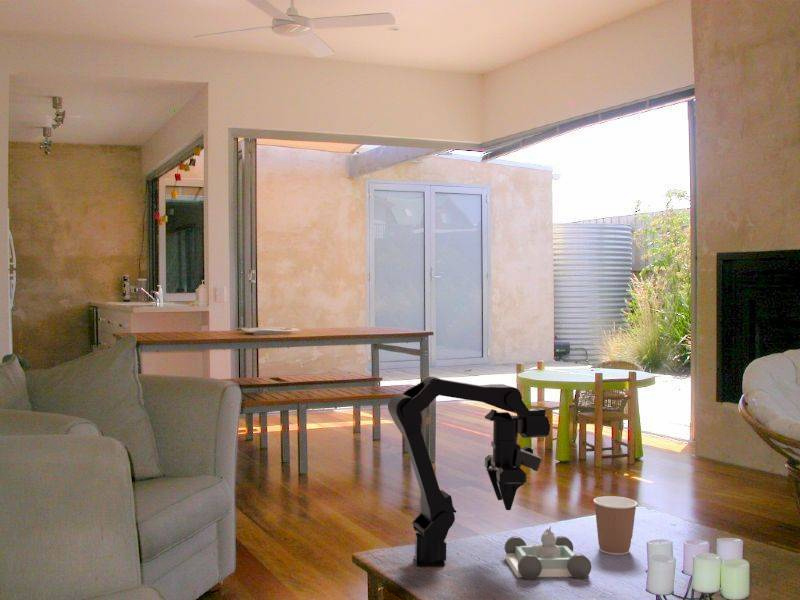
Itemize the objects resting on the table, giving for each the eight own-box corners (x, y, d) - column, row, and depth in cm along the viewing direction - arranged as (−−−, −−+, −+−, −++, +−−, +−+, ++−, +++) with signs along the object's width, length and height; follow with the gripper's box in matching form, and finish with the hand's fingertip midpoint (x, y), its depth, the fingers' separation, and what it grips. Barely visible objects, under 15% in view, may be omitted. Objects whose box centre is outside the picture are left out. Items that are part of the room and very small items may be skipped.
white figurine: (564, 564, 191) (565, 528, 191) (537, 566, 189) (538, 530, 189) (554, 556, 196) (554, 522, 196) (527, 558, 194) (528, 523, 194)
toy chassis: (518, 579, 184) (519, 556, 184) (504, 557, 199) (504, 536, 199) (591, 578, 186) (591, 555, 186) (571, 556, 201) (571, 535, 201)
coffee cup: (645, 554, 203) (646, 504, 203) (609, 559, 200) (610, 508, 199) (619, 542, 213) (620, 494, 213) (584, 546, 209) (585, 497, 209)
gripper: (549, 446, 192) (548, 515, 192) (529, 432, 210) (528, 495, 211) (500, 446, 191) (499, 515, 191) (484, 431, 209) (483, 495, 210)
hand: (504, 504), depth 201 cm, fingers open, 9 cm apart
